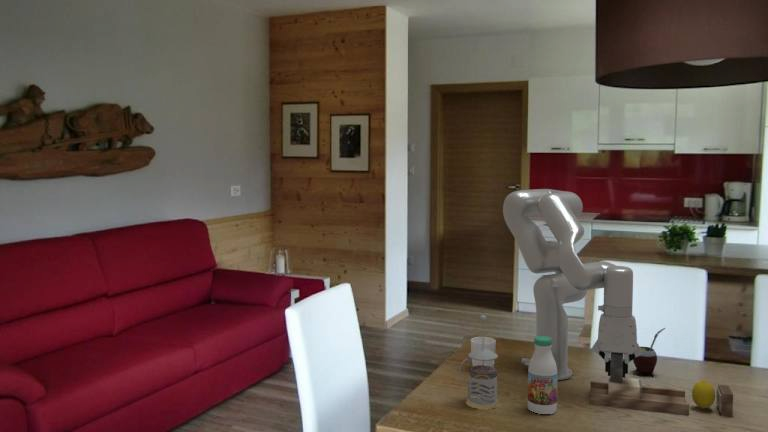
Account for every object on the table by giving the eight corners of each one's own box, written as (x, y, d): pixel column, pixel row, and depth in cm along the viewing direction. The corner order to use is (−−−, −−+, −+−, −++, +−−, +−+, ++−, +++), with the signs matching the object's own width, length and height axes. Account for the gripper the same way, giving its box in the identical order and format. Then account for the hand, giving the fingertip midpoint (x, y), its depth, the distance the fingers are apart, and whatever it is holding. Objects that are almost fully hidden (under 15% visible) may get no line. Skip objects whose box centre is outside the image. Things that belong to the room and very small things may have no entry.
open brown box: (719, 415, 170) (720, 393, 169) (715, 405, 176) (716, 384, 176) (732, 417, 169) (733, 394, 168) (727, 407, 175) (728, 385, 175)
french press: (498, 411, 174) (498, 320, 172) (455, 407, 177) (455, 318, 175) (502, 398, 183) (503, 312, 181) (462, 394, 187) (462, 309, 184)
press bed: (589, 404, 178) (589, 394, 178) (590, 390, 189) (590, 381, 188) (689, 415, 170) (689, 404, 170) (684, 400, 180) (684, 390, 180)
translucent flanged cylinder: (477, 365, 212) (478, 335, 212) (499, 369, 208) (500, 339, 207) (466, 371, 206) (466, 341, 205) (488, 376, 202) (488, 345, 201)
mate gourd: (627, 372, 203) (628, 326, 202) (643, 368, 207) (645, 322, 206) (647, 379, 197) (649, 331, 196) (664, 374, 201) (665, 327, 200)
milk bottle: (525, 404, 179) (525, 333, 177) (553, 404, 178) (554, 333, 177) (530, 415, 171) (531, 342, 169) (560, 415, 171) (561, 341, 169)
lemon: (717, 413, 171) (718, 384, 170) (694, 412, 172) (695, 383, 171) (711, 405, 176) (712, 377, 175) (689, 404, 177) (690, 376, 176)
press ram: (608, 398, 178) (609, 356, 177) (608, 389, 185) (609, 348, 184) (641, 401, 176) (642, 358, 175) (640, 392, 182) (641, 351, 181)
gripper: (586, 312, 178) (585, 376, 180) (650, 316, 173) (648, 383, 174) (587, 306, 185) (586, 368, 187) (649, 309, 180) (647, 374, 181)
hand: (616, 374), depth 181 cm, fingers closed on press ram, 3 cm apart
